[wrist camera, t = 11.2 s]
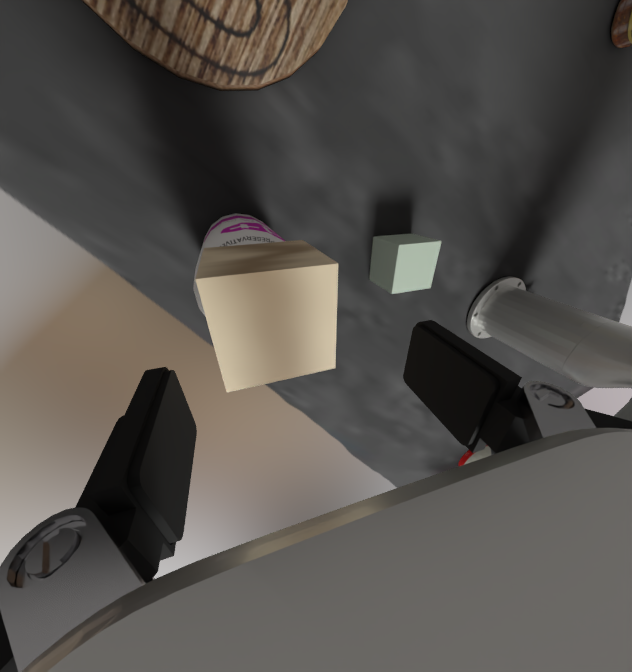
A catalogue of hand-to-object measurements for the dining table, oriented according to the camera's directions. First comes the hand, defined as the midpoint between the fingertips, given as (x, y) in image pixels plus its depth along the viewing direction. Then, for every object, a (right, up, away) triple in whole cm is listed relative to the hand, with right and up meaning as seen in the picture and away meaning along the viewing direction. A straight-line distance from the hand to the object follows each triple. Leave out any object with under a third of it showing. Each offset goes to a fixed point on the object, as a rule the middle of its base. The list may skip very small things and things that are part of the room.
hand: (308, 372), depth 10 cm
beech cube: (-3, +5, +7) cm, 9 cm away
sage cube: (+11, +13, +26) cm, 31 cm away
